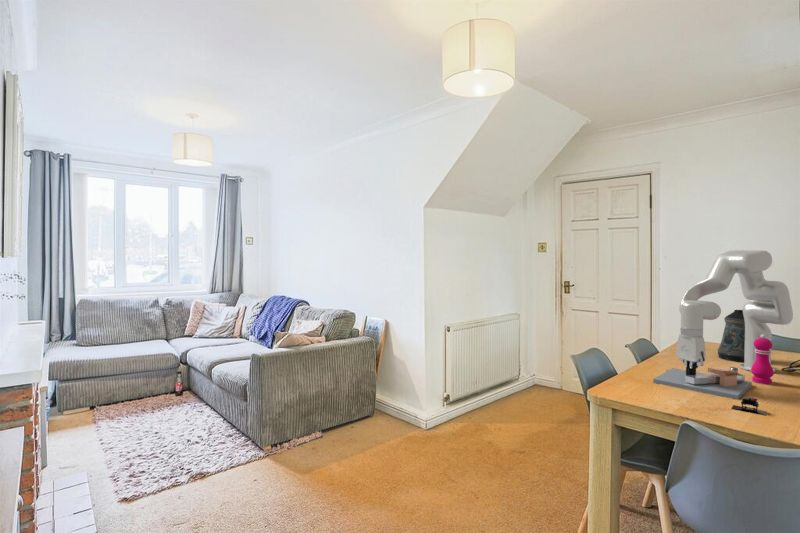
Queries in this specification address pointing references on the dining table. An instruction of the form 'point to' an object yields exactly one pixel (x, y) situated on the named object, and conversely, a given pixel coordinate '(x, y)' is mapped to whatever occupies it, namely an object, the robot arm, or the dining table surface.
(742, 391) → the slate board
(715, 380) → the steel link
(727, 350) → the beer stein
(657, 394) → the dining table surface
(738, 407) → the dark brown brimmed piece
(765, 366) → the pepper mill
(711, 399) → the dining table surface
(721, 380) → the block
